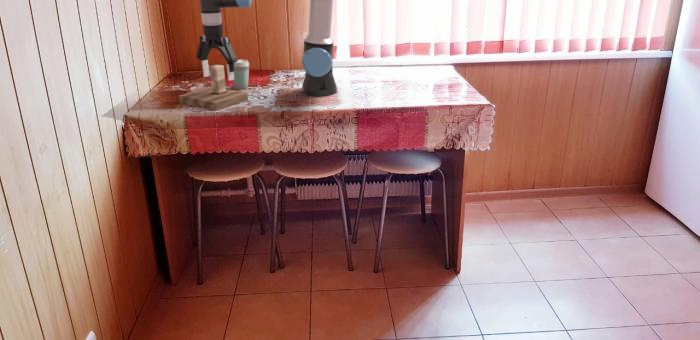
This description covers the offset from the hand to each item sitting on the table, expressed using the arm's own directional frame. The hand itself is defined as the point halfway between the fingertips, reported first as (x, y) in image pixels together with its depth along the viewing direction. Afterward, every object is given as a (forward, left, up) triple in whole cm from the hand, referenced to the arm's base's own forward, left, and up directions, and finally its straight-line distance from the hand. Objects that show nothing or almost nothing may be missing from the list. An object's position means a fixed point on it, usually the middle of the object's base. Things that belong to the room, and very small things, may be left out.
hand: (218, 78), depth 207 cm
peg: (0, 0, -9) cm, 9 cm away
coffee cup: (+7, -19, -9) cm, 22 cm away
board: (0, +3, -9) cm, 10 cm away
